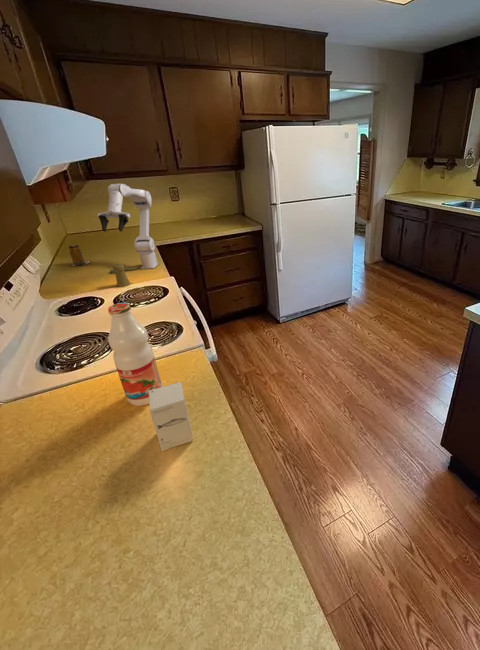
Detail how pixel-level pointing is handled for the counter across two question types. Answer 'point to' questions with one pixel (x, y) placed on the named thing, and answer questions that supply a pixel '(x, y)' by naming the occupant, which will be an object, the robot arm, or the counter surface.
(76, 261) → the condiment
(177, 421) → the white packaging box
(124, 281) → the cork
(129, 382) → the fruit juice
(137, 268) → the spoon
